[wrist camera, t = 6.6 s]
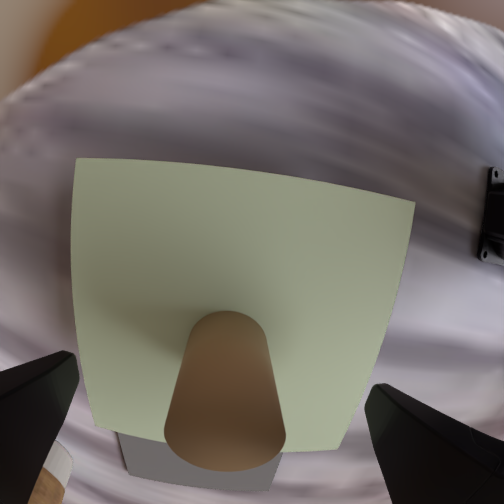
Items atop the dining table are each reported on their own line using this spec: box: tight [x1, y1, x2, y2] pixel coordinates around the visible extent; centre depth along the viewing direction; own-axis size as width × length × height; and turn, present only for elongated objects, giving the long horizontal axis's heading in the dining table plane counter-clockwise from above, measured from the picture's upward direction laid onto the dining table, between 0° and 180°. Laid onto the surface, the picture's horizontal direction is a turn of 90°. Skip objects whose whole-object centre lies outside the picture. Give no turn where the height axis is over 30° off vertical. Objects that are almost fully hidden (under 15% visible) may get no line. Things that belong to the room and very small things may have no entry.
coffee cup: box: [28, 440, 73, 504], centre depth 10 cm, size 8×8×15 cm
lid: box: [71, 158, 415, 472], centre depth 8 cm, size 12×12×6 cm
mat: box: [118, 432, 283, 491], centre depth 17 cm, size 12×12×1 cm
